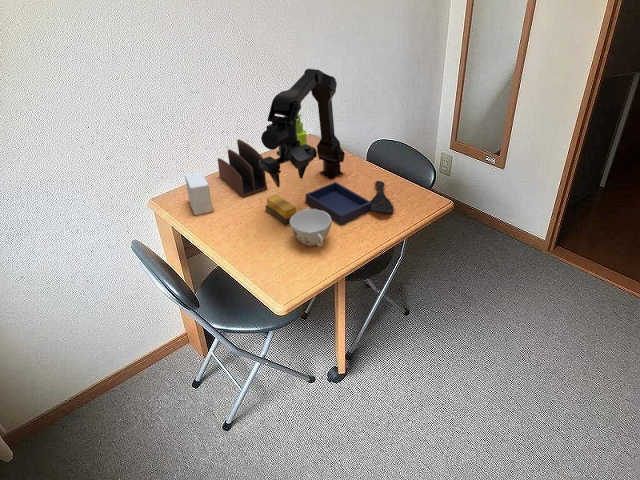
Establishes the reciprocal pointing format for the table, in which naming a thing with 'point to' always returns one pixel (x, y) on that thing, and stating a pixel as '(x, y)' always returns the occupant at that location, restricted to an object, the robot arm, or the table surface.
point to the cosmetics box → (198, 193)
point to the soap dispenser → (301, 132)
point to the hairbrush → (381, 201)
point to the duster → (280, 209)
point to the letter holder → (243, 170)
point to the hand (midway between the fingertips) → (289, 182)
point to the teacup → (311, 226)
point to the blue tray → (338, 202)
